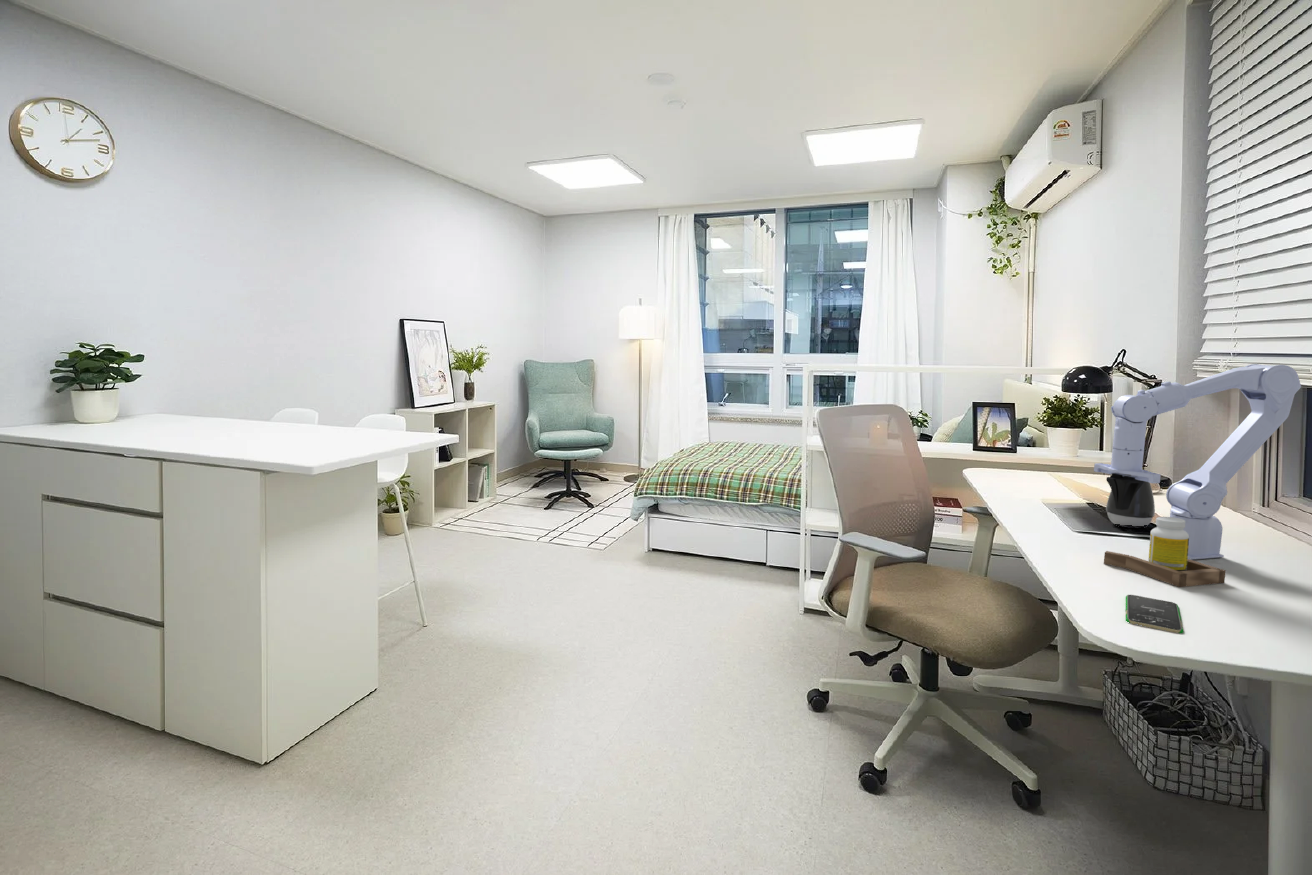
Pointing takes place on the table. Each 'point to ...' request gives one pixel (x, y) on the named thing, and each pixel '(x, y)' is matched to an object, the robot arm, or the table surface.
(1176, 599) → the table surface
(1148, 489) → the dark grey egg-shaped device
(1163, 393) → the robot arm
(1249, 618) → the table surface
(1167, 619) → the smartphone
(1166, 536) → the pill bottle
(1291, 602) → the table surface
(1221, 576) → the wooden u-shaped bracket
